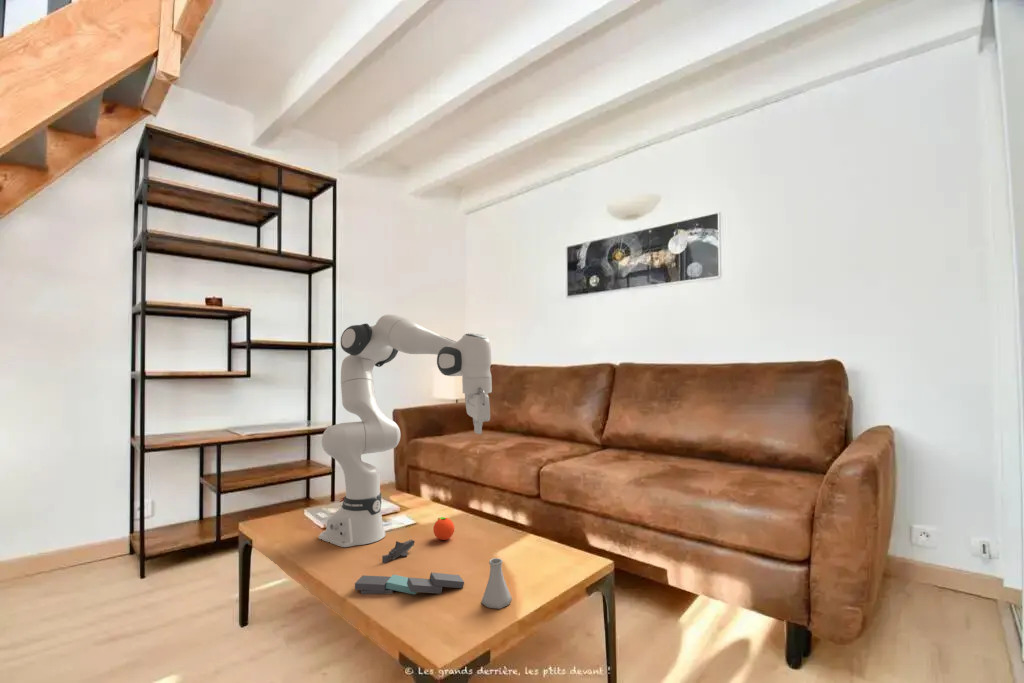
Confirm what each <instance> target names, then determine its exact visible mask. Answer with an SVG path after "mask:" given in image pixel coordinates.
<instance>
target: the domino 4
mask: <svg viewBox="0 0 1024 683" xmlns="http://www.w3.org/2000/svg"><path fill="white" fill-rule="evenodd" d="M407 585H408V587H409V589H410V591H411V592H417V593H425V594H426V593H427V594H442V591H443V587H442V586H434V585H433V584H432V582H431V580H430V579H429V578H421V577H420V578H419V577H410V576H409V577H408V581H407Z"/></svg>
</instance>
